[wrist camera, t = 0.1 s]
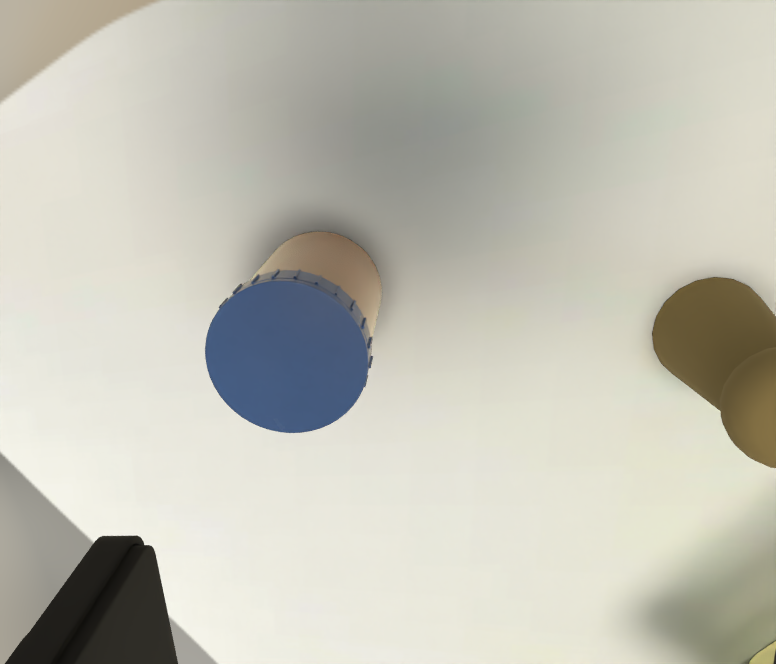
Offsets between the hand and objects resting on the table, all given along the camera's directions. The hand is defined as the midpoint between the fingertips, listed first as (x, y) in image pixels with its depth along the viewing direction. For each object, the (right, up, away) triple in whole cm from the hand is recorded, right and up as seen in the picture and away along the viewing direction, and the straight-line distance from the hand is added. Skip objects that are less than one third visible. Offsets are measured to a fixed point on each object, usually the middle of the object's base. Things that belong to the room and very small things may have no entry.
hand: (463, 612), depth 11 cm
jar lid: (-5, +3, +20) cm, 21 cm away
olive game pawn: (+16, +4, +28) cm, 33 cm away
